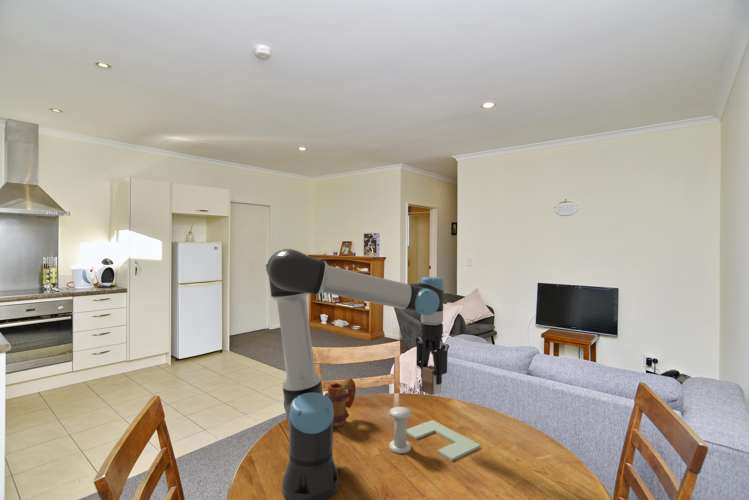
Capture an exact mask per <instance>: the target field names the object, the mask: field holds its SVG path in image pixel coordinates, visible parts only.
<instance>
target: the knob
mask: <svg viewBox="0 0 749 500" xmlns="http://www.w3.org/2000/svg"><path fill="white" fill-rule="evenodd" d="M389 415H390V417H391V418H394V425H393V426H394V429H393V430H394V431H393V432H394V433H393V436H394V437H393V440H392V441H389V444H388V445H389V446H388V447H389V450H390V451H391V452H392V453H395V454H398V455H399V454H403V455H405V454H407V453H409V452H410V451H411V450H412V444H411V442H410V441H408V440H407V437H408V436H407V435H408V434H407V429H408V427H407V426H408V419H409V418H411V417H412V415H413V414H412V409H410V408H408V407H405V406H395V407H392V408H391V409H390V410H389Z"/></svg>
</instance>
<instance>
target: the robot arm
mask: <svg viewBox="0 0 749 500" xmlns="http://www.w3.org/2000/svg"><path fill="white" fill-rule="evenodd" d="M266 274H267V275H268V283H269V289H270V296H271V298H272V299H273V300H275V301H276V302H277V303H276V304H277V310H278V311H277V312H278V317H279V318H278V319H279V327H280V333H281V334H280V335H281V343H282V344H281V345H282V351H283V358H284V365H285V374H286V379H285V380H284V382H283V383H282V392H283V407H284V411H285V413H286V415H285V416H286V418H287V424H288V429H289V430H288V431H289V442H288V443H289V445H288V446H289V447H288V449H289V453H288V455H289V456H288V462H287V464H286V467H285V471H284V473H283V476H282V482H281V492H282V494H283V497H285V499H287V500H329V499H330V498H331V497H333V496H334V495H335V493H336V492H337V491H338V488H339V472H338V470H337V467H336V464H335V460H334V457H333V456H334V455H333V450H334V448H333V447H334V446H333V445H334V440H333V439H334V426H333V418H334V410H333V404H332V401H331V400H330V398H328V397H327V396H326V395H325V394H323V393H324V391H323V385H322V378H321V376H320V375H318V374H317V373H316V370H315V360H314V353H313V345H312V344H313V343H312V336H311V335H312V334H311V329H310V328H311V327H310V320H309V311H308V304H307V302H308V301H307V296H308V295H310V294H311V295H315V296H319V294H321V293H324V294H329V295H334V296H337V297H343V298H348V299H353V300H358V301H363V302H367V303H372V304H377V305H382V306H387V307H391V308H396V309H400V310H405V311H409V312H414V313H418V314H419V315H420V322H421V323H420V333H421V336H419V337H415V344H416V356H415V357H416V361H415V363H416V365H415V366H417V367H419V369H420V378H421V379H422V368H423V367H426V366H429V360H430V356H431V354H432V361H433V366H434V368H435V374H433V395H438V394H441V392H440V384H441V385H442V382H443V375H445V374H447V373H448V353H449V352H448V351H449V348H450V345H449V344H448V343H447V344H446V343H444V342H443V341H444V340H443V339H442V336H443V334H444V324H443V322H444V297H445V296H444V292H445V289H444V287H445V286H444V280H443V278H442V277H438V276H423V277H422V278H421V281H420V282H419V283H404V282H399V281H396V280H391V279H388V278H383V277H379V276H374V275H371V274H370V275H369V274H367V273H361V272H357V271H353V270H348V269H345V268H340V267H336V266H331V265H328V263H327V262H326V260H322V259H319V258H316V257H312V256H310V255H307V254H306V253H304V252H301V251H299V250H297V249H296V250H295V249H291V248H283V249H280V250H278V251H276V252H274V253H273V254H272V255H271V256H270V257H269V259H268V261H267V265H266Z"/></svg>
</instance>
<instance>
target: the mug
mask: <svg viewBox="0 0 749 500" xmlns="http://www.w3.org/2000/svg"><path fill="white" fill-rule="evenodd" d="M356 389H357V388H356V382H355V380H353V379H352V378H350V377H346V378H345V379H344V381H343V383H341V382H340V383H339V382H334V383H331V384H329V385H328V386H327V392H326V393H325V394H324V395H326V396H327V397H328V398H330V400H331V401H332V404H333V410H334V418H333V427H340V426H341V427H342V426H343V425H344V424H346V422H347V418H348V417H349V416H350V415H349V413H348V410H347V409H346V408H349V409H350V408H351V407H352V405H353V403H354V400H355V397H356ZM346 390H347V391H346Z"/></svg>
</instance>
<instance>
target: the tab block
mask: <svg viewBox="0 0 749 500" xmlns="http://www.w3.org/2000/svg"><path fill="white" fill-rule="evenodd" d="M433 374H435V368H434V365H432V364H430V365H428V366H426V367H423V368H422V378H421V392H423V393H425V394H427V395H430V396H433V395H434V394H433ZM441 387H442V383H441V384H440V393H441V391H442V390H441Z"/></svg>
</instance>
